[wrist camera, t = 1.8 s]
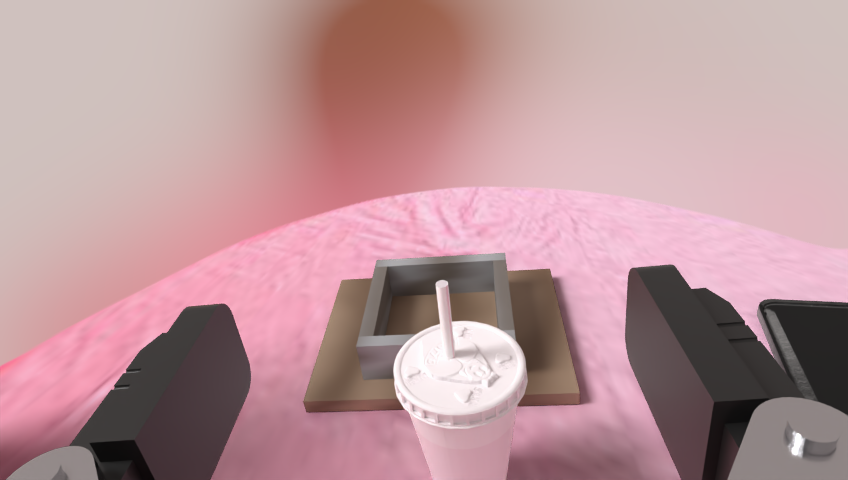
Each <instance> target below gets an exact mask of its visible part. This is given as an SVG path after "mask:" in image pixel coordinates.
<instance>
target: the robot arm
mask: <svg viewBox="0 0 848 480" xmlns="http://www.w3.org/2000/svg"><path fill="white" fill-rule="evenodd" d="M625 341H626V349H627V354H628V358H629V362H630V365H631V367H632V369H633V372H634V374H635V376H636V378H637V381H638V383H639V385H640V387H641V390H642V392H643V394H644V396H645V399H646V401H647V403H648V405H649V408H650V410H651V412H652V414H653V417H654V419H655V421H656V424H657V426H658V428H659V430H660V433H661V435H662V437H663V439H664V442H665V444H666V446H667V448H668V451H669V453H670V455H671V457H672V460H673V462H674V464H675V466H676V469H677V471H678V473H679V475H680V478H681V480H848V415H846V414H844V413H843V412H841V411H839V410H837V409H835V408H833V407H831V406H828V405H825V404H823V403H820V402H816V401H813V400H809V399H806V398H805V397H804V395H803V394H802V393H801V392H800V390H799V389H798V388H797V387H796V385H795V384H794V383H793V382H792V380H791V379H790V378H789V377H788V375H787V374H786V373H785V372H784V370H783V369H782V368H781V367H780V365H779V364H778V363H777V362H776V360H775V359H774V358H773V356H772V355H771V354H770V353H769V351H768V350H767V349H766V348H765V346H764V345H763V344H762V343H761V341H758V340H757V336H756V335H755V334H754V333H753V331H752V330H751V329H750V328H749V326H748V325H745V321H744V320H743V319H742V317H741V316H740V315H739V314H738V312H737V311H736V310H735V309H734V307H733V306H732V305H731V304H730V303H729V302H728V301H726V300H724V299H723V298H721V297H720V296H718V295H716V294H715V293H713V292H711V291H710V290H708V289H707V288H699V289H691V288H690V287H689V285H688V284H687V282H686V281H685V280H684V278H683V277H682V275H681V274H680V273H679V271H678V270H677V268H676V267H675V266H674V265H660V266H649V267H638V268H631V269H630V271H629V275H628V289H627V308H626V327H625ZM250 381H251V371H250V364H249V361H248V358H247V355H246V352H245V349H244V346H243V343H242V340H241V338H240V335H239V332H238V329H237V326H236V323H235V320H234V317H233V315H232V312H231V310H230V308H229V307H228V306H227V305H226V304H213V305H202V306H190V307H186V308H185V309H184V310H183V311H182V312H181V314H180V315H179V317H178V318H177V319H176V321H175V322H174V324H173V325H172V327H171V328H170V329H169V331H168V332H167V333H162V334H161V335H159V336H158V337H157V338H156V339H154V340H153V341H152V342H151V343H149V344H148V345H147V346H146V347H144V348H143V349H142V350H140V352H139V353H138V354H137V356H136V357H135V358H134V360H133V361H132V362H131V364H130V365H129V366H128V368H127V369H126V373H124V374H123V375H122V376H121V377H120V379H119V380H118V381H117V383H116V384H115V385H114V387H115V388H114V390H111V391H110V392H109V393H108V395H107V396H106V397H105V399H104V400H103V401H102V403H101V404H100V405H99V407H98V408H97V409H96V411H95V412H94V414H93V415H92V416H91V418H90V419H89V420H88V422H87V423H86V424H85V426H84V427H83V428H82V430H81V431H80V432H79V434H78V435H77V436H76V438H75V439H74V440H73V442H72V443H71V444H70V446H67V447H62V448H57V449H54V450H51V451H48V452H46V453H44V454H41V455H39V456H37V457H36V458H34V459H32V460H30V461H29V462H27V463H25V464H24V465H23V466H21V467H20V468H18V469H17V470H16V471H15V472H14V473H12V474H11V475H10V476H9V477H8V478H7V479H6V480H211V477H212V475H213V473H214V470H215V468H216V466H217V463H218V461H219V459H220V457H221V454H222V452H223V450H224V447H225V445H226V443H227V440H228V438H229V436H230V433H231V431H232V429H233V427H234V424H235V422H236V420H237V417H238V415H239V413H240V410H241V408H242V406H243V404H244V401H245V399H246V397H247V394H248V392H249V388H250Z"/></svg>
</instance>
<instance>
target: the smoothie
mask: <svg viewBox="0 0 848 480" xmlns="http://www.w3.org/2000/svg"><path fill="white" fill-rule="evenodd" d="M436 292H437V301H438V310H439V318H440V324H438V325H435V326H432V327H429V328H427V329H425V330H423V331H421V332H419V333H418V334H416V335H415V336H413V337H412V338H411V339H409V340H408V341H407V342H406V343H405V344H404V345H403V347H402V348H401V349H400V351H399V352H398V354H397V356H396V359H395V362H394V369H393V373H394V379H395V381H394V385H395V390H396V396H397V398H398V399H399V401H400V403H401V404H402V406H403V408H404V409H405V410H406V411H408V412H409V414H410V417H411V420H412V422H413V425H414V427H415V430H416V433H417V436H418V439H419V442H420V445H421V447H422V450H423V453H424V456H425V459H426V462H427V464H428V467H429V470H430V473H431V476H432V479H433V480H506V478H507V471H508V464H509V458H510V451H511V444H512V437H513V430H514V424H515V417H516V412H517V405H518V403H519V402H520V400H521V399H522V397H523V396H524V394H525V390H526V386H527V382H528V379H527V370H526V361H525V356H524V353H523V351H522V349H521V347H520V346H519V344H518V343H517V342H516V341H515V340H514V339H513V338H512V337H511V336H510V335H508V334H507V333H505V332H504V331H502V330H500V329H498V328H496V327H493V326H491V325H488V324H484V323H479V322H472V321H453V322H452V317H451V307H450V297H449V287H448V282H447V281H445V280H440V281H438V282H436Z"/></svg>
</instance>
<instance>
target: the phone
mask: <svg viewBox="0 0 848 480" xmlns="http://www.w3.org/2000/svg"><path fill="white" fill-rule="evenodd" d="M757 316H758V319H759V321H760V324H761V326H762V329H763V331H764V334H765V336H766V338H767V341H768V343H769V346H770V348H771V351H772V353H773V356H774V358H775V360H776V362H777V363H778V364H779V365H780V367H781V368H782V369H783V370H784V372H785V373H786V374H787V375H788V377H789V378H790V379H791V380H792V382H793V383H794V384H795V385H796V387H797V388H798V389H799V390H800V392H801V393H802V394H803V395H804V397H805V398H806V399H809V400H813V401H816V402H820V403H823V404H825V405H828V406H831V407H833V408H835V409H837V410H839V411H841V412H843V413H844V414H846V415H848V303H843V302H822V301H800V300H779V299H767V300H764V301H762V302H760V304H759V307H758V311H757Z"/></svg>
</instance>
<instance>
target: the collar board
mask: <svg viewBox="0 0 848 480" xmlns="http://www.w3.org/2000/svg"><path fill="white" fill-rule="evenodd" d="M440 280H445V281H447V282H448V287H449V297H450V307H451V317H452V322H453V321H472V322H479V323H484V324H488V325H491V326H493V327H496V328H498V329H500V330H502V331H504V332H505V333H507V334H508V335H510V336H511V337H512V338H513V339H514V340H515V341H516V342H517V343H518V344H519V346H520V347H521V349H522V351H523V353H524V356H525V361H526V370H527V379H528V382H527V386H526V390H525V394H524V396H523V397H522V399H521V400H520V402H519V403H518V405H517V406H533V405H568V404H579V400H580V392H579V387H578V383H577V379H576V375H575V371H574V367H573V363H572V358H571V354H570V350H569V346H568V342H567V338H566V334H565V329H564V325H563V321H562V317H561V313H560V309H559V305H558V300H557V296H556V292H555V288H554V284H553V280H552V276H551V271H550V269H537V270H519V271H507V265H506V257H505V253H495V254H478V255H460V256H443V257H425V258H407V259H390V260H377V261H376V265H375V270H374V274H373V278H370V279H351V280H342V281H341V284H340V287H339V291H338V294H337V297H336V300H335V303H334V306H333V309H332V313H331V316H330V319H329V322H328V325H327V328H326V332H325V335H324V338H323V341H322V344H321V347H320V350H319V354H318V357H317V360H316V363H315V366H314V369H313V373H312V376H311V379H310V382H309V385H308V388H307V392H306V395H305V398H304V401H303V402H304V406H305V409H306V412H326V411H361V410H395V409H404V408H403V406H402V404H401V403H400V401H399V399H398V398H397V396H396V390H395V385H394V381H395V379H394V373H393V369H394V362H395V359H396V356H397V354H398V352H399V351H400V349H401V348H402V347H403V345H404V344H405V343H406V342H407V341H408V340H409V339H411V338H412V337H413V336H415V335H416V334H418V333H419V332H421V331H423V330H425V329H427V328H429V327H432V326H435V325H438V324H440V318H439V310H438V301H437V292H436V282H438V281H440Z"/></svg>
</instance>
